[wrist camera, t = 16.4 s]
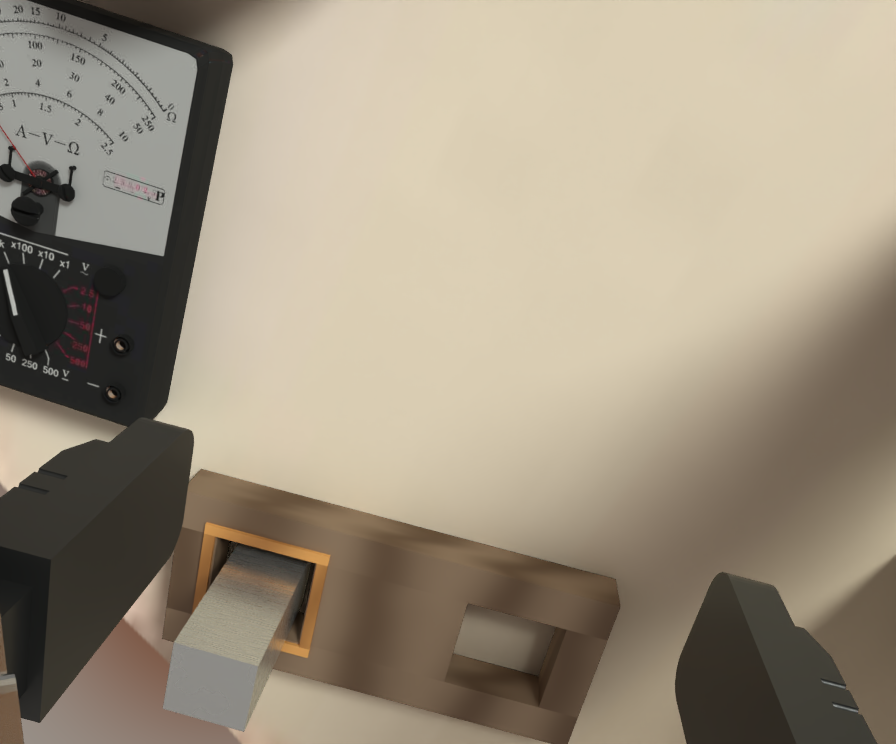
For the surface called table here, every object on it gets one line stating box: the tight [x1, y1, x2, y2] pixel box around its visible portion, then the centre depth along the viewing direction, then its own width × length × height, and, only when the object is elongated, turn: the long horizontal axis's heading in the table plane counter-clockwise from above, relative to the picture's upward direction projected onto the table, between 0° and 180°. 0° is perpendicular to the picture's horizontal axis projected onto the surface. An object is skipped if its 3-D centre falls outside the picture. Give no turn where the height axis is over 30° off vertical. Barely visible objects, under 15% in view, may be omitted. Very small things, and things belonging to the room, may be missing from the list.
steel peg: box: [163, 543, 312, 732], centre depth 41 cm, size 4×4×10 cm
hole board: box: [162, 469, 620, 744], centre depth 44 cm, size 24×10×3 cm, turn 76°
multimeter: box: [0, 0, 233, 427], centre depth 38 cm, size 13×19×5 cm
